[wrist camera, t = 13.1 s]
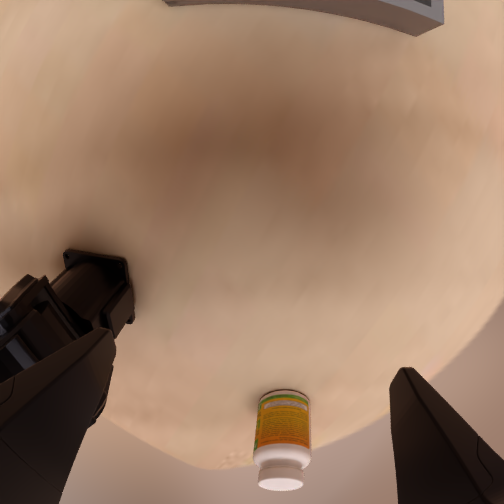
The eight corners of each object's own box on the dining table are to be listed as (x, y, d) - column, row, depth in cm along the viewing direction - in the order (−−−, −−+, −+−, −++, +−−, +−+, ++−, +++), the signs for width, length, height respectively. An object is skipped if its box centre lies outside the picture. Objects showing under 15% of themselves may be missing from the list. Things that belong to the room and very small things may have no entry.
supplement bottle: (252, 392, 28) (240, 476, 20) (304, 384, 27) (305, 473, 18) (266, 418, 30) (259, 494, 22) (313, 412, 29) (315, 490, 21)
